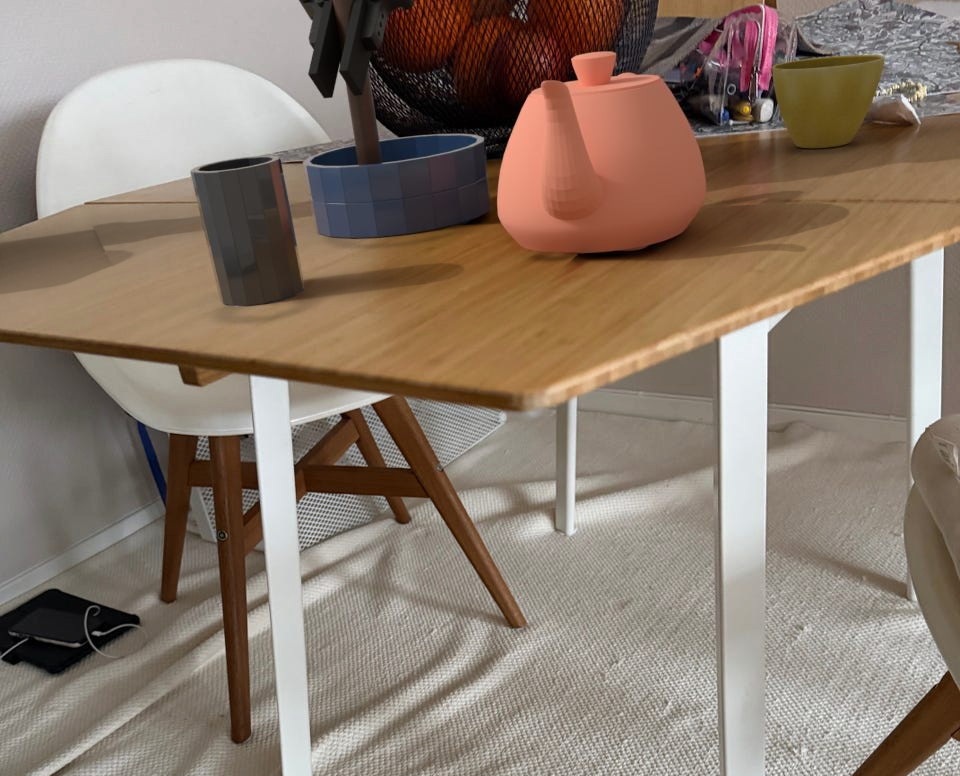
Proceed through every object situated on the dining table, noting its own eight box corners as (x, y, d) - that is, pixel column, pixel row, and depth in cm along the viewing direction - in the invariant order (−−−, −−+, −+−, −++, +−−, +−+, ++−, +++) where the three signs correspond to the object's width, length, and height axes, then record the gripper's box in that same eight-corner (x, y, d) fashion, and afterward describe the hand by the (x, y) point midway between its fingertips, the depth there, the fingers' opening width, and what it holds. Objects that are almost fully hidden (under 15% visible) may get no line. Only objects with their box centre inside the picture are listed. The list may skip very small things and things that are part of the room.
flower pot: (869, 131, 109) (875, 50, 105) (887, 147, 101) (894, 59, 97) (765, 141, 111) (768, 62, 107) (774, 157, 102) (777, 72, 99)
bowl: (285, 248, 91) (270, 171, 88) (363, 209, 103) (353, 140, 100) (452, 242, 86) (442, 160, 83) (515, 202, 98) (508, 129, 95)
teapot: (672, 278, 69) (668, 61, 63) (452, 284, 74) (428, 84, 68) (727, 205, 86) (728, 28, 80) (545, 213, 92) (533, 48, 85)
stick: (360, 206, 92) (316, -76, 81) (370, 201, 93) (328, -77, 83) (382, 205, 91) (339, -80, 81) (391, 200, 93) (351, -80, 82)
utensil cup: (206, 315, 75) (173, 174, 70) (250, 291, 79) (221, 158, 74) (280, 314, 73) (250, 169, 68) (320, 290, 77) (295, 153, 72)
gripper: (491, -143, 89) (442, 110, 85) (330, -116, 95) (275, 123, 90) (460, -231, 82) (404, 39, 78) (288, -197, 88) (226, 58, 83)
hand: (335, 84), depth 84 cm, fingers closed on stick, 2 cm apart
